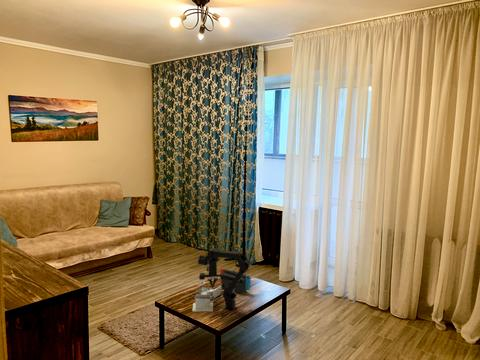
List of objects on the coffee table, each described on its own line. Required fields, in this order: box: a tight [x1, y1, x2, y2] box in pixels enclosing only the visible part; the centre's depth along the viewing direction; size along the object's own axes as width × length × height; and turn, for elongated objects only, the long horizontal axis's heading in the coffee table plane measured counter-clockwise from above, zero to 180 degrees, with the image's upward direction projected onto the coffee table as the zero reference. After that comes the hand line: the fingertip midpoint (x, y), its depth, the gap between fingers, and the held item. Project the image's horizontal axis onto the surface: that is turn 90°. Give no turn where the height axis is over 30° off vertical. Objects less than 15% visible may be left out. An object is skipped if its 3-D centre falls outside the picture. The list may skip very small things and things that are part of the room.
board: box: [192, 302, 214, 313], centre depth 250 cm, size 14×11×1 cm
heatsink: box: [194, 294, 211, 309], centre depth 249 cm, size 11×8×7 cm
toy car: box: [197, 280, 223, 301], centre depth 270 cm, size 18×10×12 cm
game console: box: [219, 268, 252, 296], centre depth 278 cm, size 28×6×15 cm, turn 57°
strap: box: [194, 294, 211, 299], centre depth 249 cm, size 10×3×1 cm, turn 94°
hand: (212, 287), depth 252 cm, fingers closed
